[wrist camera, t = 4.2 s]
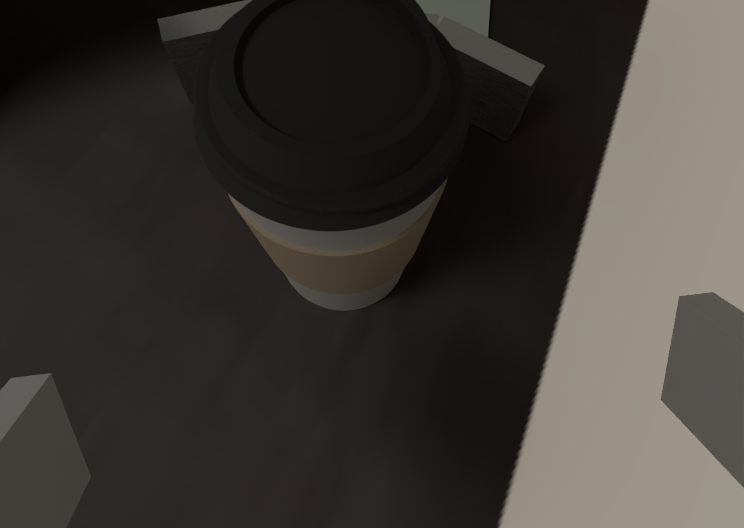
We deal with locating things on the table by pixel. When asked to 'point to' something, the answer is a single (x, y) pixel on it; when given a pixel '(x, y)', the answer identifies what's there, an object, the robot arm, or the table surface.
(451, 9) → the mat
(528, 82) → the bent rail
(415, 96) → the coffee cup
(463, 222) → the table surface
